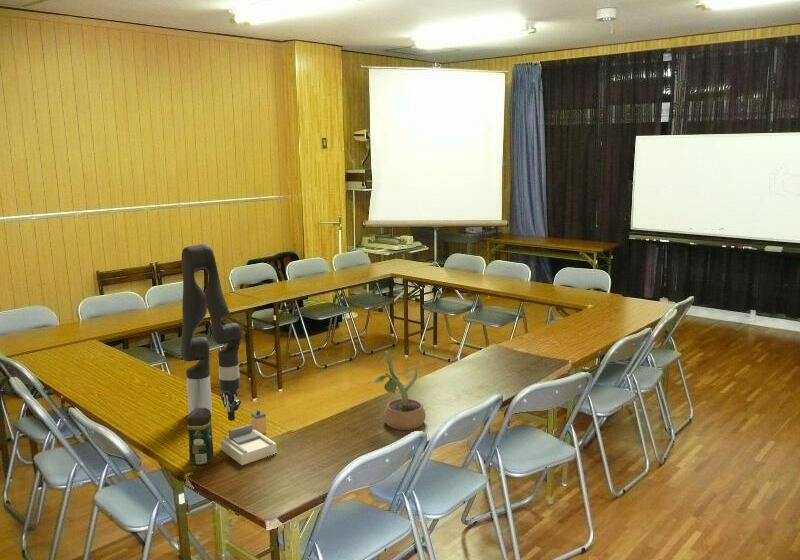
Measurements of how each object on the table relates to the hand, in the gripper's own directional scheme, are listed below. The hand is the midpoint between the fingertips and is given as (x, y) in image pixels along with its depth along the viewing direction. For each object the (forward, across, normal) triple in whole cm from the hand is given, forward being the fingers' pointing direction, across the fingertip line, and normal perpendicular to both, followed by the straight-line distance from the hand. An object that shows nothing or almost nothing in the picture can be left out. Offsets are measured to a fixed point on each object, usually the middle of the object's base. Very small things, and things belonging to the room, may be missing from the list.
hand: (231, 419), depth 257 cm
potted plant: (+9, +27, +60) cm, 66 cm away
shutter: (+4, +9, 0) cm, 10 cm away
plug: (+8, 0, +11) cm, 14 cm away
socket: (+9, +12, 0) cm, 15 cm away
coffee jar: (+9, +7, -16) cm, 19 cm away
